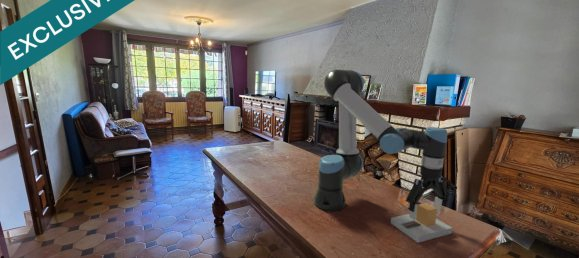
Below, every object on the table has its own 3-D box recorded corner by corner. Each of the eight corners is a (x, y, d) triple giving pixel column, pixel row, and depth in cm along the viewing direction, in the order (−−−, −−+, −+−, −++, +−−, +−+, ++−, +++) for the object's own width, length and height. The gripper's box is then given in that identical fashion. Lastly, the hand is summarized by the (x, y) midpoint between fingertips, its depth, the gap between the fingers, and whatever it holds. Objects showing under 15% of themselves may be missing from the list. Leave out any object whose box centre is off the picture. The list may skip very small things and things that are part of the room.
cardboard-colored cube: (426, 226, 99) (428, 210, 98) (415, 220, 104) (417, 204, 103) (435, 224, 101) (437, 208, 100) (424, 218, 106) (426, 202, 104)
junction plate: (417, 243, 93) (419, 222, 91) (390, 223, 106) (391, 204, 104) (451, 233, 99) (454, 213, 98) (422, 215, 112) (424, 198, 111)
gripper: (415, 173, 91) (408, 225, 95) (462, 166, 99) (454, 214, 103) (400, 166, 97) (394, 215, 101) (445, 160, 106) (438, 206, 110)
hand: (424, 215), depth 102 cm, fingers open, 13 cm apart
